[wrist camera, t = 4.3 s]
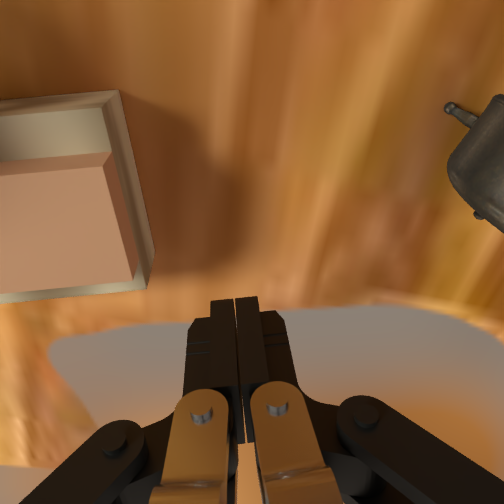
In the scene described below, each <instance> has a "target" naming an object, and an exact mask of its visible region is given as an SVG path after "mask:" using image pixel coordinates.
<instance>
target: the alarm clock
mask: <svg viewBox="0 0 504 504" xmlns="http://www.w3.org/2000/svg"><path fill="white" fill-rule="evenodd" d="M444 111H445V112H446V113H447V114H452V115H454V116H455V117H456V118H457V119H458V120H459V121H460V122H462V123H463V124H464V125H465V126H467V127H469V128H470V130H469V132H468V133H467V134H466V135H465V137H464V138H463V139H462V141H461V142H460V143H459V145H458V146H457V147H456V149H455V150H454V151H453V153H452V154H451V155H450V157H449V159H448V162H447V173H448V176H449V179H450V182H451V183H452V185H453V187H454V188H455V190H456V191H457V192H458V194H459V195H460V196H461V197H462V198H463V199H464V200H465V201H466V202H467V203H468V204H469V205H470V206H471V207H472V208H473V209H474V210H475V212H474V213H473V215H474V217H475V218H476V219H479V220H483V219H486V220H487V221H488V222H490V223H491V224H492V225H493V226H495V227H496V228H497V229H499V230H500V231H501V232H502V233H504V95H503V94H498V95H495V96H494V97H493V98H492V100H491V102H490V103H489V105H488V106H487V108H486V109H485V111H484V112H483V113H482V114H481V116H480V117H478V116H476V115H474V114H472V113H470V112H466V111H464V110H462V109H459V108H457V106H456V105H455V103H453V102H449V103H447V104H445V107H444Z"/></svg>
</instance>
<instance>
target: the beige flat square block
mask: <svg viewBox="0 0 504 504" xmlns="http://www.w3.org/2000/svg"><path fill="white" fill-rule="evenodd" d="M110 151H112V153H113V157H114V161H115V165H116V169H117V173H118V177H119V181H120V185H121V189H122V193H123V197H124V201H125V205H126V209H127V213H128V217H129V221H130V225H131V229H132V233H133V237H134V241H135V245H136V249H137V253H138V257H139V262H138V265H137V269H136V272H135V275H134V279H133V281H125V282H115V283H105V284H95V285H85V286H75V287H65V288H55V289H45V290H35V291H25V292H15V293H5V294H0V304H4V303H14V302H24V301H34V300H44V299H54V298H64V297H74V296H84V295H94V294H104V293H114V292H124V291H134V290H144V289H147V286H148V281H149V277H150V273H151V269H152V264H153V260H154V256H155V248H154V244H153V240H152V235H151V231H150V226H149V222H148V217H147V213H146V208H145V204H144V200H143V195H142V191H141V186H140V182H139V177H138V173H137V168H136V164H135V160H134V155H133V151H132V146H131V142H130V137H129V133H128V128H127V124H126V120H125V115H124V111H123V106H122V102H121V97H120V93H119V89H118V90H107V91H96V92H85V93H74V94H63V95H52V96H41V97H30V98H19V99H8V100H0V162H4V161H14V160H25V159H36V158H46V157H57V156H68V155H78V154H89V153H99V152H110Z"/></svg>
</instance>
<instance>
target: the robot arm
mask: <svg viewBox="0 0 504 504" xmlns="http://www.w3.org/2000/svg"><path fill="white" fill-rule="evenodd" d="M235 305H236V318H235V309H234V301H233V299H224V300H214V301H211V304H210V317H205V318H195V320H194V322H193V323H192V325H191V326H190V328H189V329H188V337H187V348H186V361H185V373H184V386H183V396H182V399H181V400H180V401H179V402H178V403H177V405H176V407H175V411H174V412H173V413H171V414H170V415H169V416H168V417H166V418H165V419H163V420H161V421H158V422H156V423H154V424H151V425H149V426H146V427H144V428H141V427H140V426H139V425H138V424H137V423H135V422H133V421H130V420H118V421H113V422H111V423H108V424H106V425H104V426H103V427H101V428H100V429H99V430H97V431H96V432H95V433H94V434H93V435H92V436H91V437H90V438H89V439H88V440H86V441H85V442H84V443H83V444H82V445H81V446H80V447H79V448H78V449H77V450H76V451H75V452H74V453H72V454H71V455H70V456H69V457H68V458H67V459H66V460H65V461H64V462H63V463H62V464H61V465H60V466H59V467H57V468H56V469H55V470H54V471H53V472H52V473H51V474H50V475H49V476H48V477H47V478H46V479H45V480H44V481H43V482H41V483H40V484H39V485H38V486H37V487H36V488H35V489H34V490H33V491H32V492H31V493H30V494H29V495H28V496H26V497H25V498H24V499H23V500H22V501H21V502H20V503H19V504H237V478H238V470H237V466H238V444H243V443H245V433H244V417H243V407H244V415H245V425H246V433H247V442H248V443H250V442H254V446H255V454H256V455H255V456H256V464H257V473H258V479H259V485H260V491H261V496H262V503H263V504H343V502H344V503H345V504H504V481H502V480H501V479H499V478H498V477H496V476H495V475H493V474H492V473H490V472H489V471H487V470H485V469H484V468H482V467H481V466H479V465H478V464H476V463H475V462H473V461H471V460H470V459H469V458H467V457H466V456H464V455H463V454H461V453H459V452H458V451H457V450H455V449H454V448H452V447H450V446H449V445H447V444H446V443H444V442H443V441H441V440H440V439H438V438H437V437H435V436H434V435H432V434H430V433H429V432H428V431H426V430H425V429H423V428H422V427H420V426H419V425H417V424H416V423H414V422H412V421H411V420H409V419H408V418H406V417H405V416H403V415H402V414H400V413H399V412H397V411H396V410H394V409H393V408H391V407H390V406H388V405H386V404H385V403H384V402H382V401H380V400H378V399H376V398H374V397H370V396H364V395H359V396H353V397H350V398H348V399H346V400H345V401H343V402H342V403H341V405H340V406H335V405H330V404H324V403H320V402H317V401H314V400H313V399H311V398H309V397H308V396H307V395H305V394H304V393H303V392H302V390H301V389H300V387H299V385H298V382H297V378H296V373H295V369H294V364H293V359H292V355H291V350H290V345H289V340H288V336H287V331H286V326H285V322H284V320H283V318H282V317H281V316H280V315H279V314H278V313H277V312H276V310H273V311H264V312H260V311H259V304H258V297H257V296H253V297H243V298H235ZM236 320H237V327H236ZM242 399H243V403H242Z"/></svg>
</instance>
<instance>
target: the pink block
mask: <svg viewBox="0 0 504 504" xmlns="http://www.w3.org/2000/svg"><path fill="white" fill-rule="evenodd" d="M138 262H139V257H138V253H137V249H136V245H135V241H134V237H133V233H132V229H131V225H130V221H129V217H128V213H127V209H126V205H125V201H124V197H123V193H122V189H121V185H120V181H119V177H118V173H117V169H116V165H115V161H114V157H113V153H112V151H110V152H99V153H89V154H78V155H68V156H57V157H46V158H36V159H25V160H14V161H4V162H0V294H5V293H15V292H25V291H35V290H45V289H55V288H65V287H75V286H85V285H95V284H105V283H115V282H125V281H133V279H134V275H135V272H136V269H137V265H138Z"/></svg>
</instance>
